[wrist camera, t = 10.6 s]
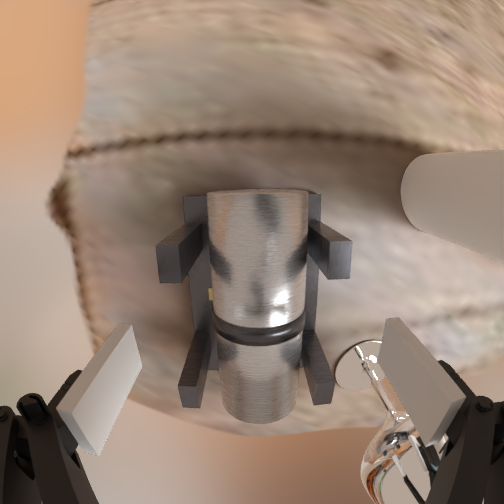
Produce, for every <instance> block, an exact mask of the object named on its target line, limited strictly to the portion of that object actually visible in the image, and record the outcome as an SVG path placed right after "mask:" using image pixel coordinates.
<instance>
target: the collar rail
mask: <svg viewBox="0 0 504 504" xmlns="http://www.w3.org/2000/svg"><path fill="white" fill-rule="evenodd" d="M183 203H184V222H185V225H183V226H182V227H181V228H179V229H178V230H176V231H175V232H173V233H172V234H171V235H169V236H168V237H167V238H165V239H164V240H162V241H161V242H160V243H158V244H157V245H156V254H157V263H158V272H159V280H160V283H182V282H183V280H184V279H185V277H186V275H187V274H188V276H189V286H190V296H191V306H192V315H193V323H194V331H195V334H194V337H193V340H192V343H191V346H190V349H189V353H188V356H187V359H186V362H185V365H184V368H183V371H182V374H181V377H180V380H179V384H178V389H179V394H180V398H181V402H182V406H183V407H187V408H200V407H201V402H202V397H203V391H204V386H205V381H206V376H207V371H208V370H219V363H218V353H217V343H216V332H215V329H214V325H213V314H212V306H213V295H212V281H211V266H210V249H209V230H208V207H207V195H203V196H186V197H183ZM320 215H321V194H308V237H307V266H306V287H305V305H306V313H305V326H304V329H303V333H302V346H301V357H300V368H302V367H304V371H305V375H306V378H307V382H308V386H309V389H310V393H311V397H312V401H313V404H314V405H321V404H330V403H331V401H332V396H333V391H334V386H335V380H334V377H333V375H332V372H331V370H330V367H329V365H328V362H327V360H326V357H325V355H324V353H323V350H322V348H321V345H320V343H319V340H318V338H317V335H316V333H315V319H316V306H317V291H318V273H319V268H320V270H321V271H322V272H323V274H324V275H325V276H326V278H327V279H328V280H330V279H350V268H351V254H352V241H351V240H350V239H348V238H346V237H345V236H343V235H341V234H340V233H338V232H337V231H335V230H333V229H332V228H330V227H328V226H327V225H325V224H323V223H322V222H320Z"/></svg>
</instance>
